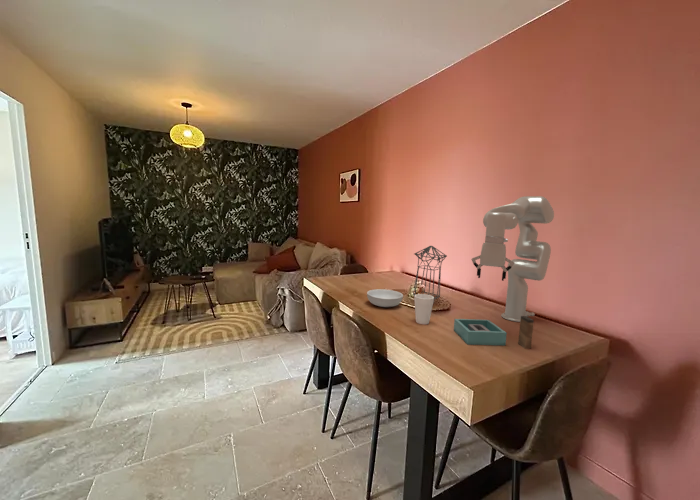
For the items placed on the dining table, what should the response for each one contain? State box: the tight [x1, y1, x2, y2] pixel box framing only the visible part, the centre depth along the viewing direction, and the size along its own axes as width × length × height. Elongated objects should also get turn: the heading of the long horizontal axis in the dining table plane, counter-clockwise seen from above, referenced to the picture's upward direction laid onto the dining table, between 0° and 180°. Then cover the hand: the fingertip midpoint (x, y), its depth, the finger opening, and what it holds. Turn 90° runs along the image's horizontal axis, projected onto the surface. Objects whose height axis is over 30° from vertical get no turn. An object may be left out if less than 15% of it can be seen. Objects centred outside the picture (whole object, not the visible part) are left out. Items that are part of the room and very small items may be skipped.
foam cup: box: [413, 293, 435, 325], centre depth 155 cm, size 10×9×13 cm
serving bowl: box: [366, 288, 404, 308], centre depth 182 cm, size 21×21×7 cm
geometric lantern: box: [412, 245, 448, 301], centre depth 189 cm, size 16×16×35 cm
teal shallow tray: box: [453, 318, 508, 346], centre depth 138 cm, size 16×16×6 cm
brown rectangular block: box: [517, 316, 535, 350], centre depth 130 cm, size 2×5×12 cm, turn 2°
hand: (490, 278), depth 140 cm, fingers open, 9 cm apart
